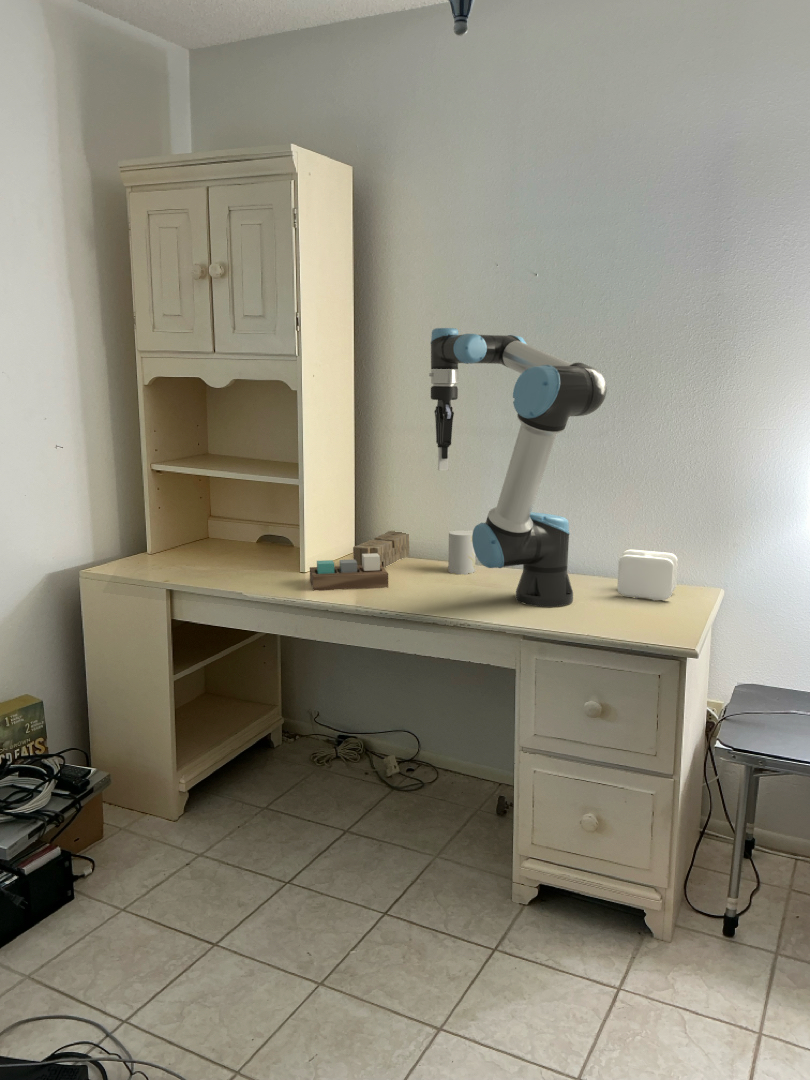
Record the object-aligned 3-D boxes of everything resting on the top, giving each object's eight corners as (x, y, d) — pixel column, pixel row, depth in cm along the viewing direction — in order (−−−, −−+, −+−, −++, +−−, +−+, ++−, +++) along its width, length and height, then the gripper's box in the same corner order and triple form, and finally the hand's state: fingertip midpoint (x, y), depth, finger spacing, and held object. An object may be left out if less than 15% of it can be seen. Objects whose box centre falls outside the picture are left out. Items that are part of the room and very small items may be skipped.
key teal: (334, 577, 247) (334, 563, 246) (318, 578, 246) (318, 564, 245) (332, 573, 251) (332, 560, 250) (316, 574, 250) (316, 560, 250)
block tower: (376, 576, 266) (412, 554, 292) (375, 548, 264) (412, 530, 290) (352, 573, 268) (390, 552, 295) (352, 546, 267) (390, 528, 293)
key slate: (357, 576, 248) (357, 562, 247) (341, 577, 247) (341, 563, 246) (355, 572, 252) (355, 559, 252) (339, 573, 252) (339, 559, 251)
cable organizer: (613, 596, 237) (615, 554, 235) (621, 588, 247) (623, 547, 245) (670, 603, 231) (673, 560, 229) (676, 594, 241) (679, 552, 238)
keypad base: (388, 587, 246) (388, 573, 246) (313, 590, 243) (313, 576, 242) (381, 577, 258) (381, 564, 257) (309, 580, 254) (309, 567, 253)
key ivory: (379, 570, 249) (379, 556, 248) (364, 570, 248) (364, 557, 247) (377, 566, 253) (377, 553, 253) (361, 567, 252) (361, 553, 252)
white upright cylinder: (475, 574, 263) (476, 535, 260) (448, 574, 263) (449, 535, 261) (474, 568, 271) (475, 530, 268) (448, 568, 271) (448, 530, 269)
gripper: (426, 385, 249) (425, 467, 253) (436, 385, 236) (435, 472, 240) (451, 385, 250) (450, 467, 254) (463, 385, 237) (462, 472, 242)
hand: (443, 470), depth 247 cm, fingers closed
